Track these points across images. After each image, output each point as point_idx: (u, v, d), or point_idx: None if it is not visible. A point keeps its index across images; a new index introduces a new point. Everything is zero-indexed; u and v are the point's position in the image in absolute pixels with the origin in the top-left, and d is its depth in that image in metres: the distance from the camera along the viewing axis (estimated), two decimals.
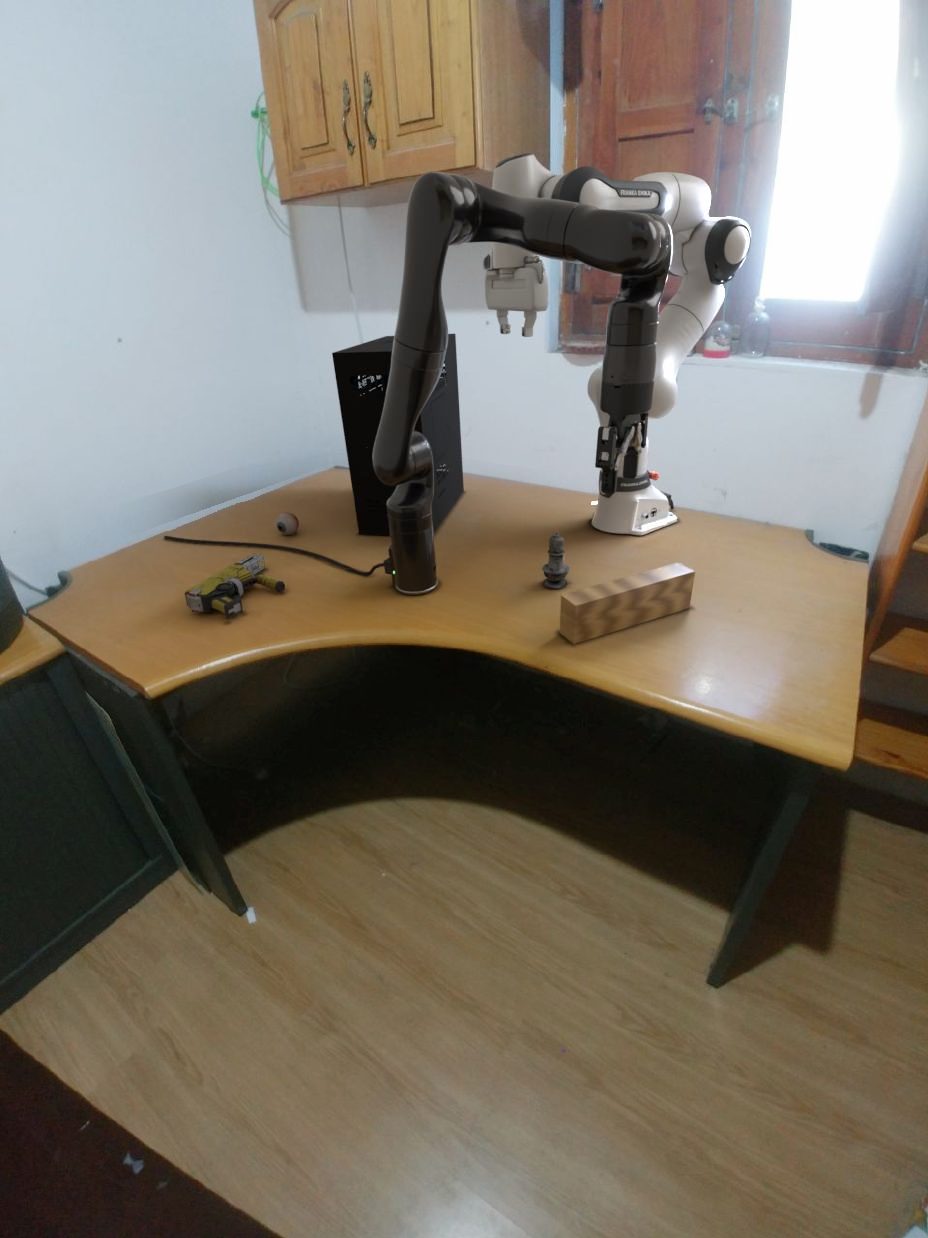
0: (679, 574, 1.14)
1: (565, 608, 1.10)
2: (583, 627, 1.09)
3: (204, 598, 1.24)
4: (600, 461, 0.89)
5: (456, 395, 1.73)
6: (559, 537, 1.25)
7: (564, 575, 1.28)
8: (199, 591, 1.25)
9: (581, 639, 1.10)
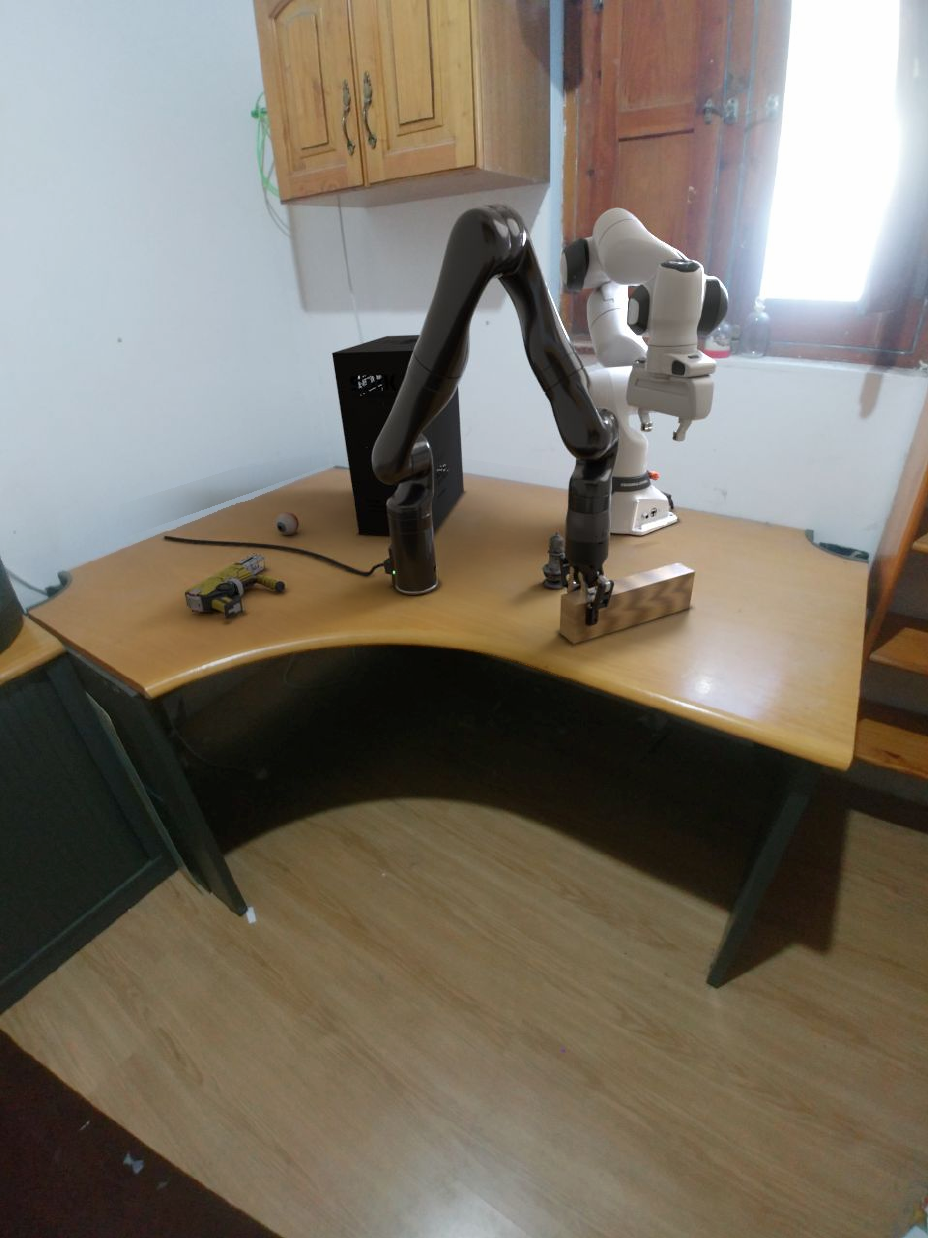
0: (679, 574, 1.14)
1: (565, 608, 1.10)
2: (583, 627, 1.09)
3: (204, 598, 1.24)
4: (599, 605, 1.04)
5: (456, 395, 1.73)
6: (559, 537, 1.25)
7: None
8: (199, 591, 1.25)
9: (581, 639, 1.10)
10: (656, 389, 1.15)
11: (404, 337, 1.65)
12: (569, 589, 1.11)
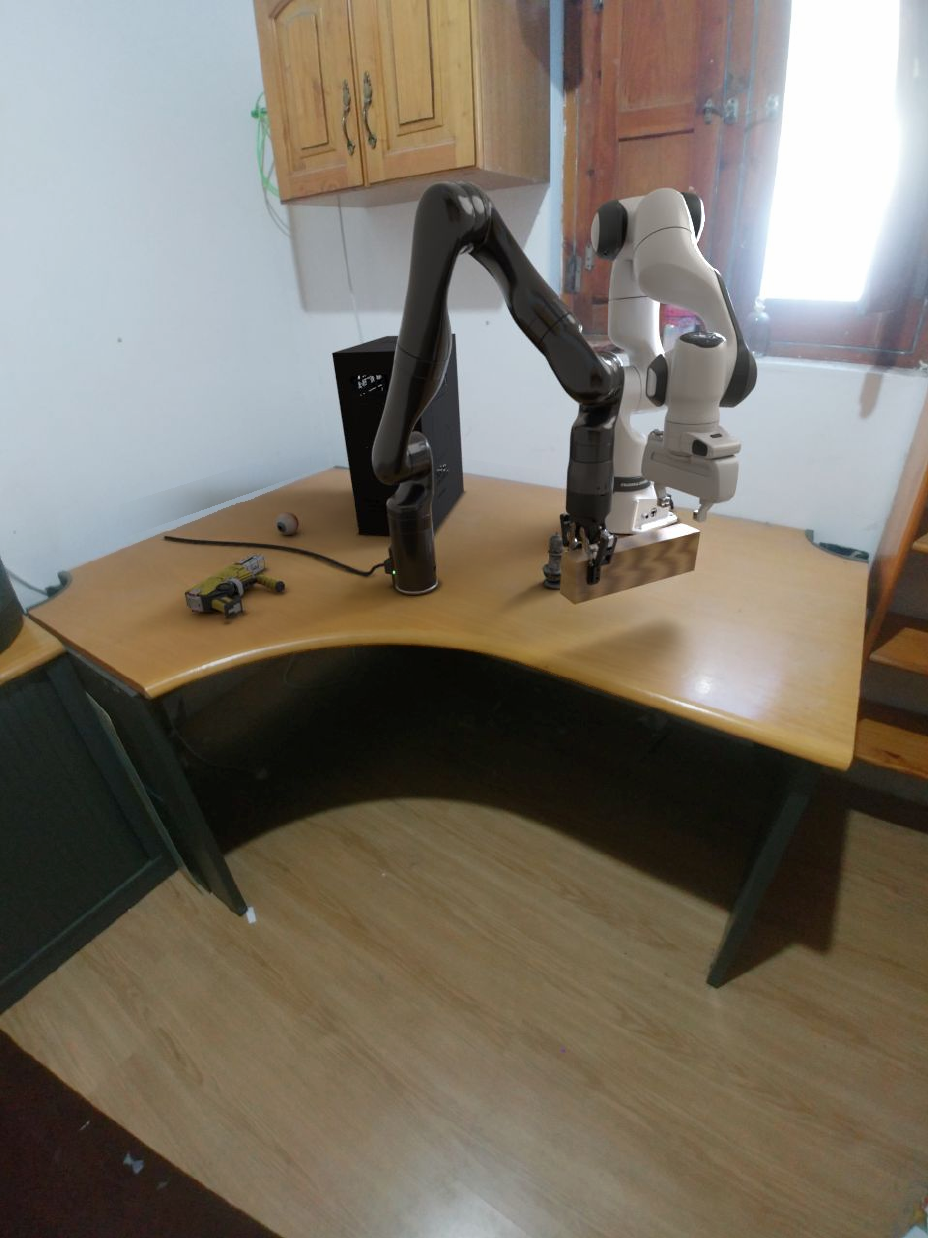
0: (683, 534, 1.10)
1: (566, 567, 1.05)
2: (585, 586, 1.05)
3: (204, 598, 1.24)
4: (601, 562, 1.00)
5: (456, 395, 1.73)
6: (559, 537, 1.25)
7: None
8: (199, 591, 1.25)
9: (582, 599, 1.06)
10: (674, 466, 1.07)
11: None
12: (570, 547, 1.07)
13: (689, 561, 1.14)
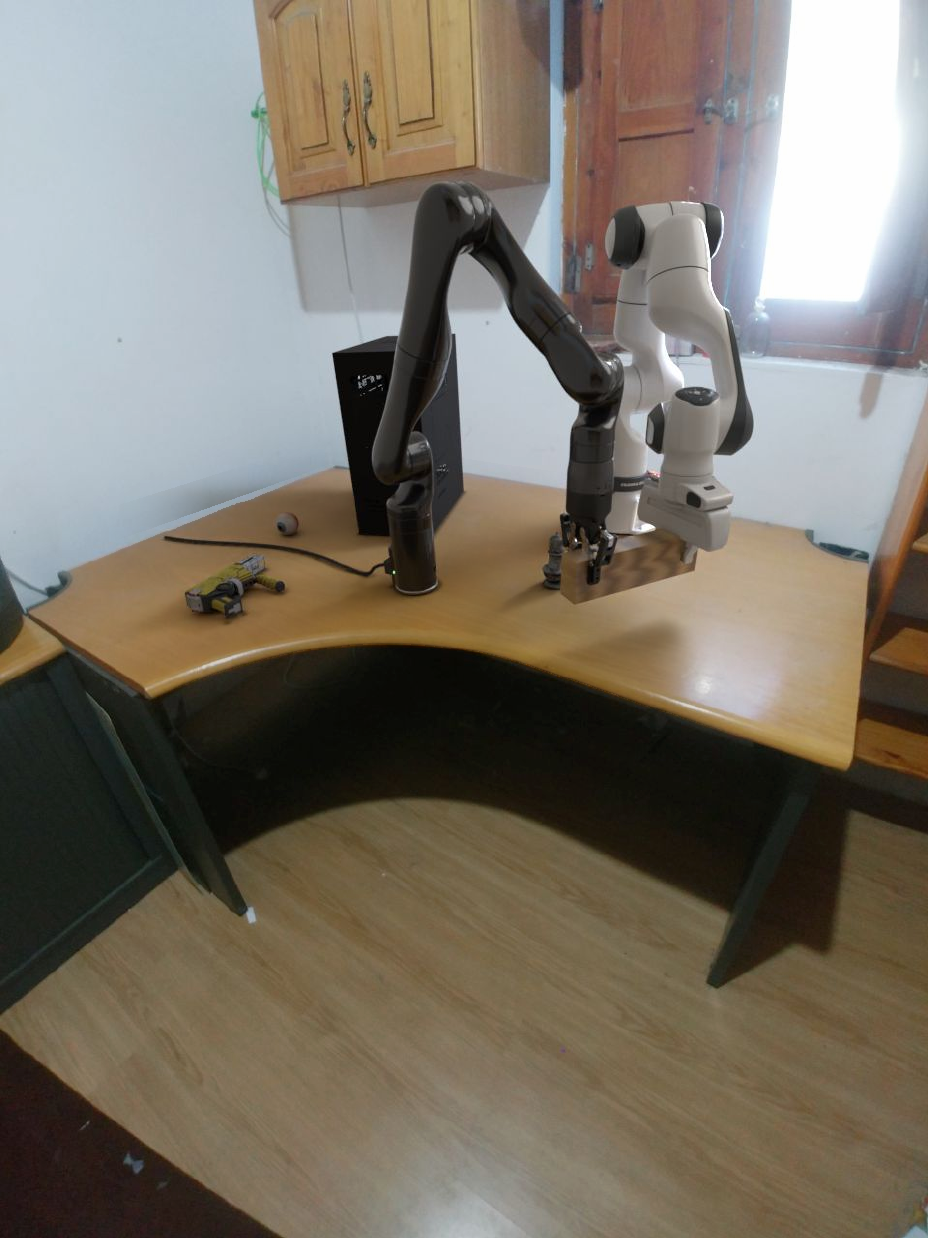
0: None
1: (566, 567, 1.05)
2: (585, 587, 1.05)
3: (204, 598, 1.24)
4: (601, 562, 1.00)
5: (456, 395, 1.73)
6: (559, 537, 1.25)
7: None
8: (199, 591, 1.25)
9: (582, 599, 1.06)
10: (669, 512, 1.11)
11: None
12: (570, 548, 1.07)
13: None
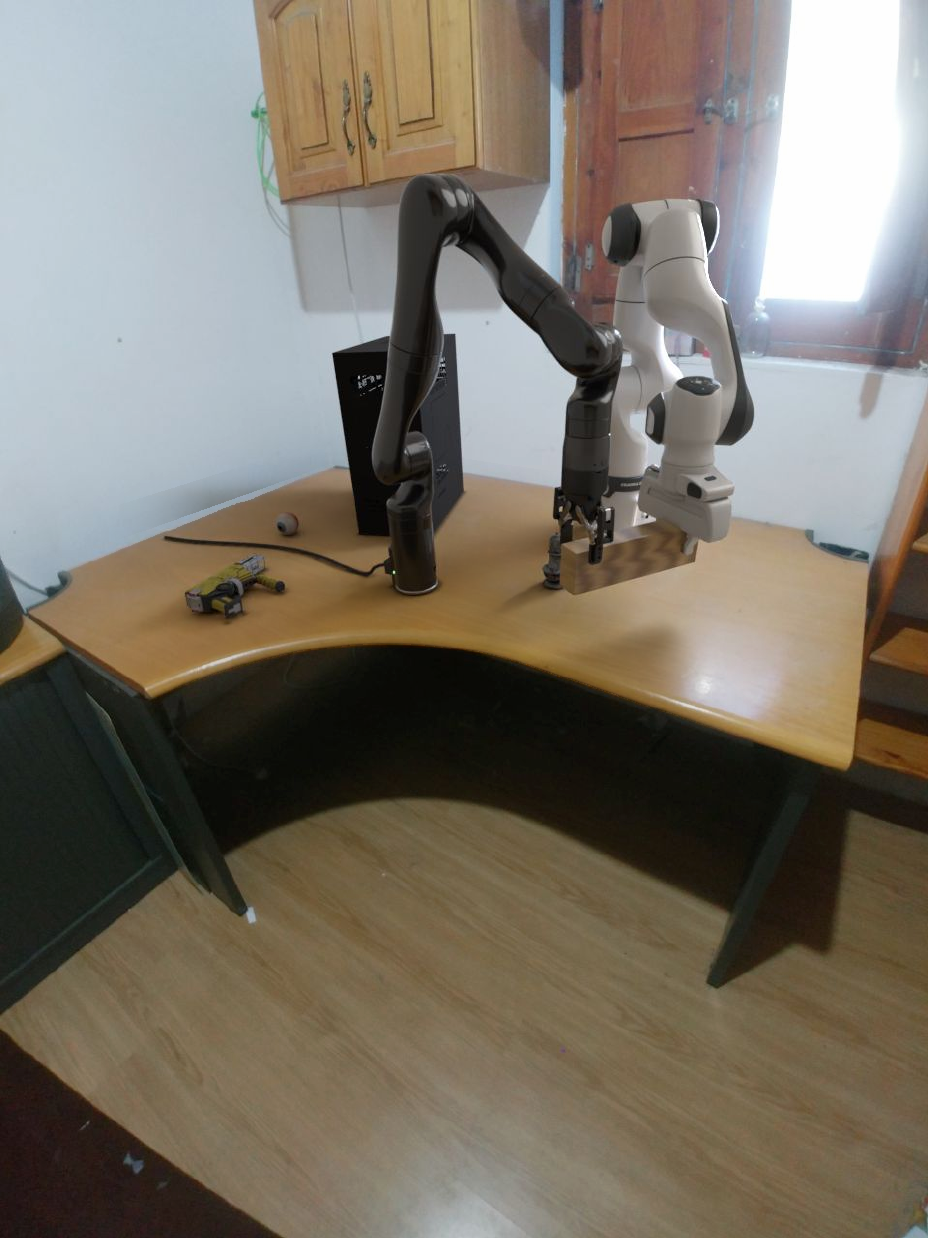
0: None
1: (566, 558, 1.05)
2: (584, 578, 1.05)
3: (204, 598, 1.24)
4: (603, 538, 0.96)
5: (456, 395, 1.73)
6: (559, 537, 1.25)
7: None
8: (199, 591, 1.25)
9: (582, 590, 1.06)
10: (670, 503, 1.10)
11: None
12: (561, 520, 1.05)
13: None
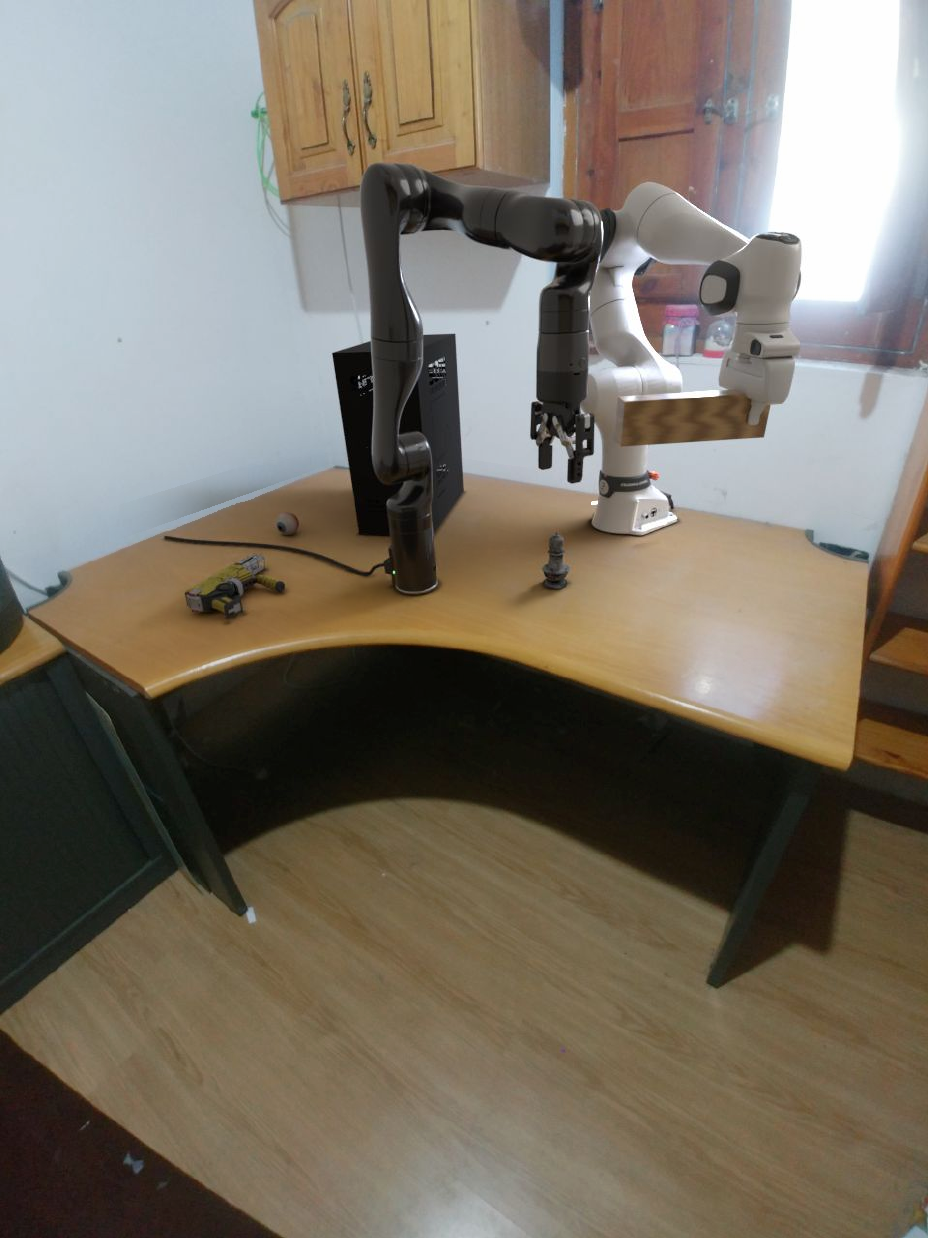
0: None
1: (619, 409, 1.12)
2: (633, 429, 1.11)
3: (204, 598, 1.24)
4: (583, 450, 0.87)
5: (456, 395, 1.73)
6: (559, 537, 1.25)
7: (564, 575, 1.28)
8: (199, 591, 1.25)
9: (630, 443, 1.12)
10: (741, 370, 1.10)
11: None
12: (538, 439, 0.96)
13: (758, 425, 1.12)
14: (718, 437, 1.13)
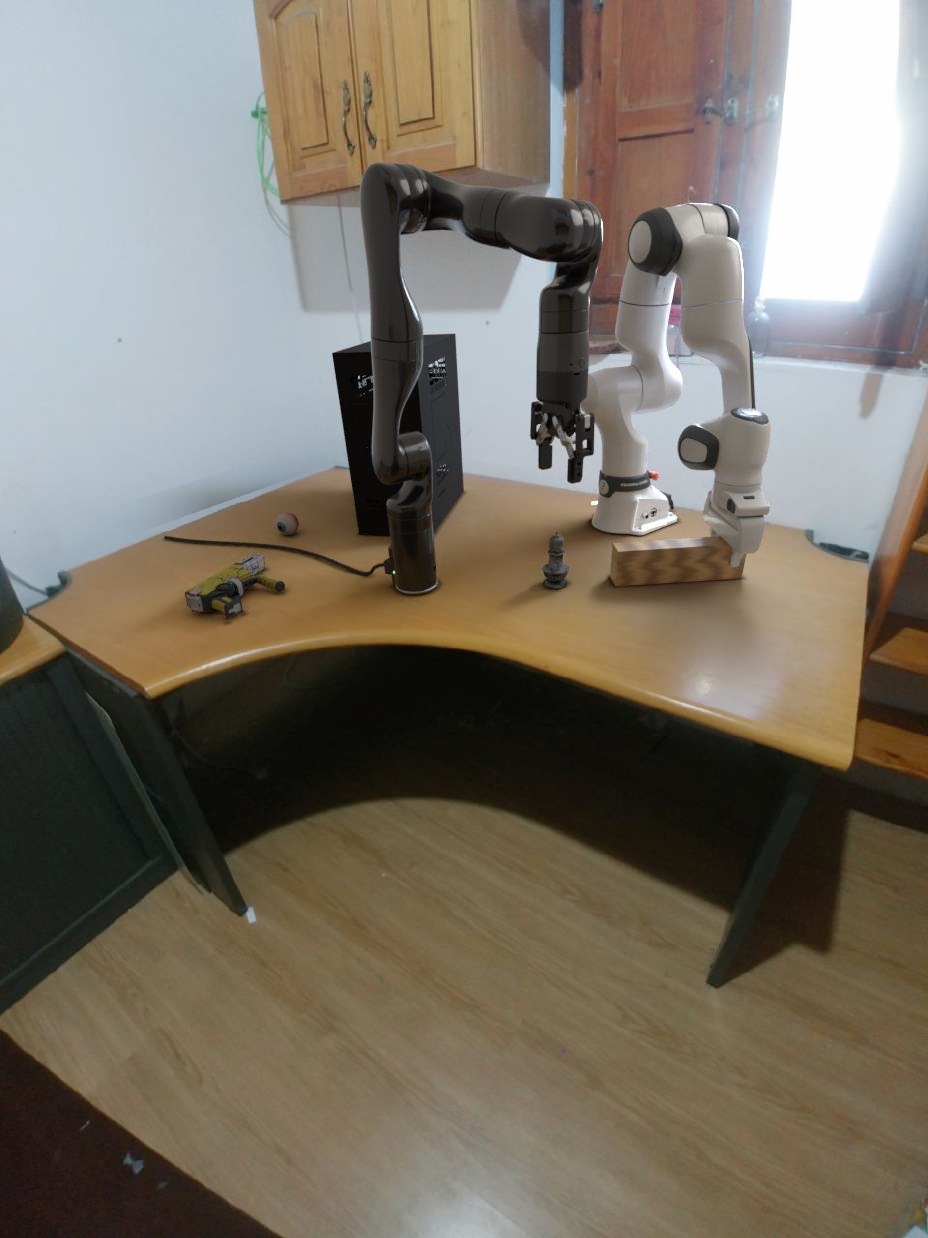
0: None
1: (613, 554, 1.29)
2: (626, 573, 1.27)
3: (204, 598, 1.24)
4: (583, 450, 0.87)
5: (456, 395, 1.73)
6: (559, 537, 1.25)
7: (564, 575, 1.28)
8: (199, 591, 1.25)
9: (623, 583, 1.29)
10: (721, 516, 1.26)
11: None
12: (538, 439, 0.96)
13: (736, 569, 1.28)
14: (701, 578, 1.29)
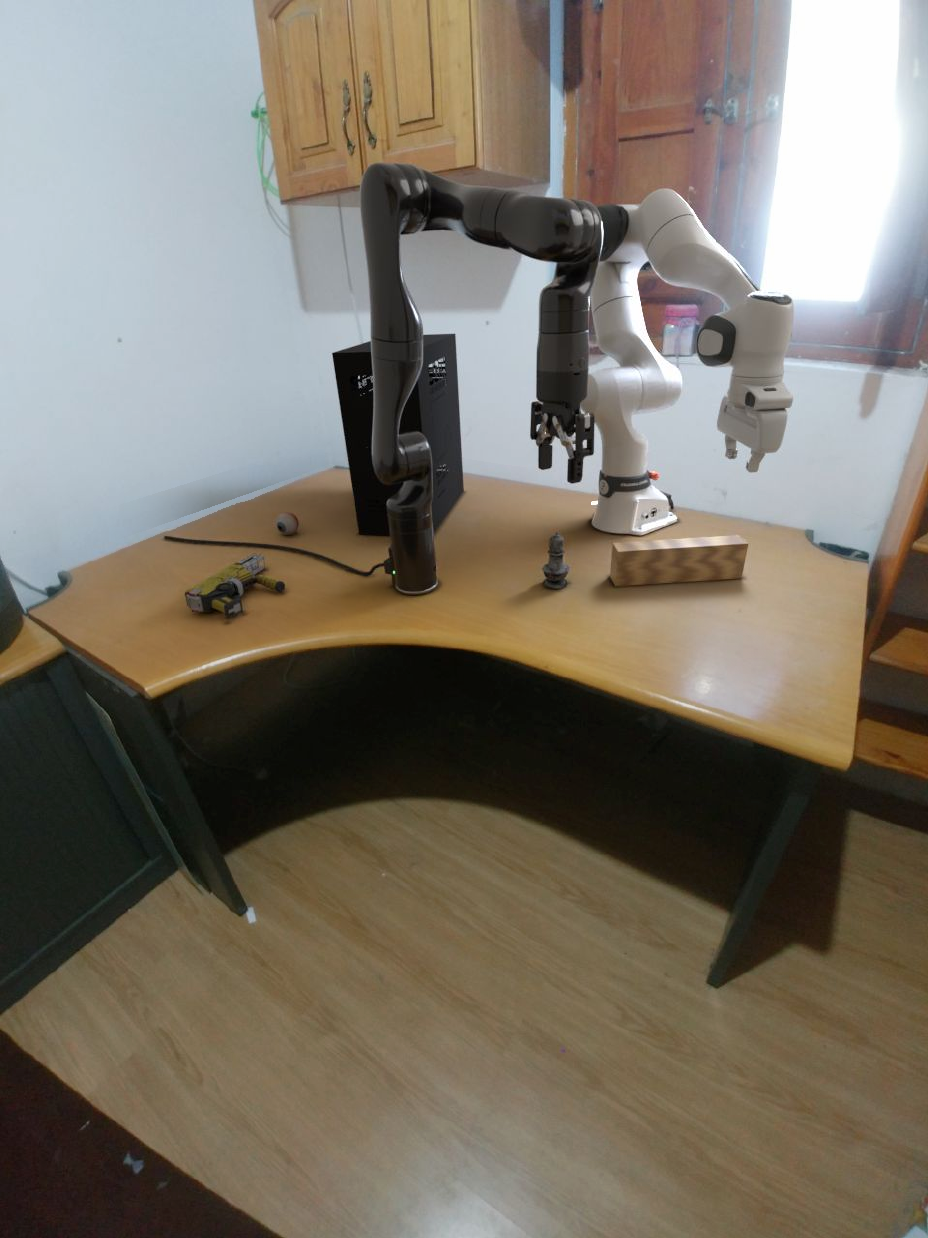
0: (730, 543, 1.25)
1: (613, 554, 1.29)
2: (626, 573, 1.27)
3: (204, 598, 1.24)
4: (583, 450, 0.87)
5: (456, 395, 1.73)
6: (559, 537, 1.25)
7: (564, 575, 1.28)
8: (199, 591, 1.25)
9: (623, 583, 1.29)
10: (738, 418, 1.16)
11: None
12: (538, 439, 0.96)
13: (736, 569, 1.28)
14: (701, 578, 1.29)
